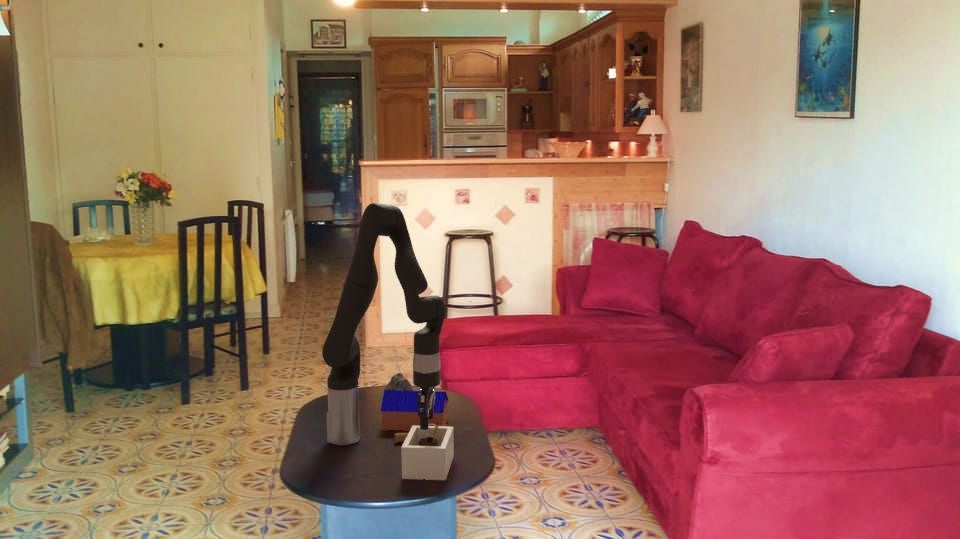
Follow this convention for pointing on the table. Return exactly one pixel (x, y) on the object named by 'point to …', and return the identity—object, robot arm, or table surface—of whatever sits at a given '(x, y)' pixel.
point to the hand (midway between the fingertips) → (426, 423)
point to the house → (410, 410)
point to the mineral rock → (399, 383)
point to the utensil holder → (429, 439)
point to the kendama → (402, 436)
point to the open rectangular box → (427, 454)
